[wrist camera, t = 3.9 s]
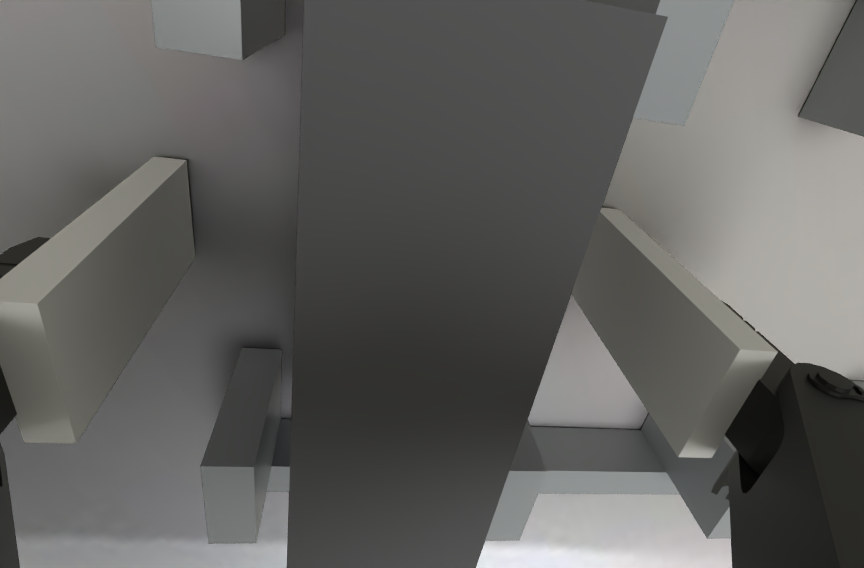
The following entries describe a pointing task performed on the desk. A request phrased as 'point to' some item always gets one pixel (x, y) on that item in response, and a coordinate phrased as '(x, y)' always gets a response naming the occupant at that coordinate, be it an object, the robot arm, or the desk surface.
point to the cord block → (439, 254)
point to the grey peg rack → (539, 446)
